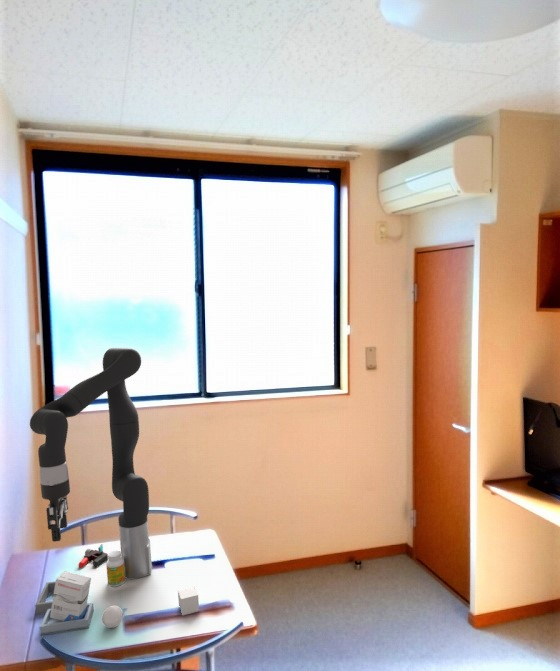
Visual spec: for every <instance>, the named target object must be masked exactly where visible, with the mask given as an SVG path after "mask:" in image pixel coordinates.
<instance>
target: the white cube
mask: <svg viewBox="0 0 560 671" xmlns="http://www.w3.org/2000/svg"><path fill="white" fill-rule="evenodd" d="M177 596H178V597H177V599H178V607H179V606H180V608H181V611H180V613H182V614H181V616H186V615H189V614H193V613H197V612H199V611H200V604H199V602H200V601H199V593H198V591H197V589H196V586H191V587H187V588H183V589H179V590H177ZM180 608H179V609H180Z"/></svg>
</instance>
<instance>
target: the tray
mask: <svg viewBox="0 0 560 671" xmlns="http://www.w3.org/2000/svg"><path fill="white" fill-rule="evenodd" d="M94 610H95V609H94V602H87V606H86V613H85V616H84V617H83V619H79V620H72V621H61V620H57V619H53V618H50V614H51V609H48V610H47V612H46V613H45V615H44V616H43V618H42V621H41V623H40V625H39V632H40V633H39V634H40V636H47V635H54V634H61V633H68V632H73V631H79V630H80V631H81V630H85V629H86V630H87V629H89V628H90V625H91V620H92V617H93V614H94V612H95V611H94Z"/></svg>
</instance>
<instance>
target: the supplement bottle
mask: <svg viewBox="0 0 560 671" xmlns="http://www.w3.org/2000/svg"><path fill="white" fill-rule="evenodd" d="M107 554H108V561H106V563H105V564H106V565H105V566H106V576H107V577H106V578H107V579H106V580H107V585H108V586H109V587H119V586H121V585H123V584H124V583H125V582H126V578H125V572H124V560H123V558H121V550H120V551H119V550H113V551H110V552H108V553H107Z"/></svg>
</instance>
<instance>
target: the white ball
mask: <svg viewBox="0 0 560 671" xmlns="http://www.w3.org/2000/svg"><path fill="white" fill-rule="evenodd" d="M123 617H124V612H123V610H122V609H121V607H120V606H118V605H110V606H107V607H106V608H105V609H104V611H103V613H102V616H101V622H102V624H103V626H104V627H106V628H107V629H114V628H116V627H118V626H119V625H120V624H121V623H122V621H123Z"/></svg>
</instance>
